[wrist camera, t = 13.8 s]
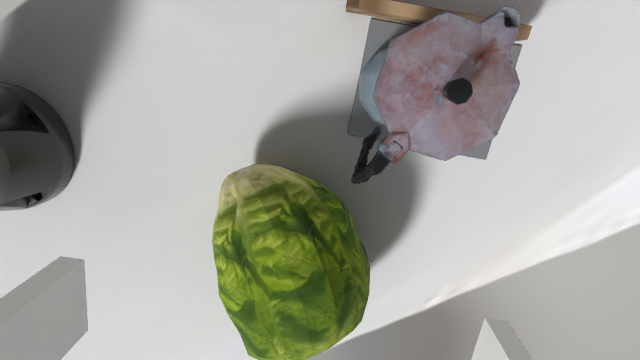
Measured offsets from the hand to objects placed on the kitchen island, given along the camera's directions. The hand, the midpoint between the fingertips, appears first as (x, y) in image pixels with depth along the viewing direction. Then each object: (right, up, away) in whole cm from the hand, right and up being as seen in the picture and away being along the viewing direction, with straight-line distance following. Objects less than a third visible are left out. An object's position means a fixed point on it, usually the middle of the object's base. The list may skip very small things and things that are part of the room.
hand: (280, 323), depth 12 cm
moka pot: (+10, +15, +29) cm, 34 cm away
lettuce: (-2, -1, +35) cm, 35 cm away
